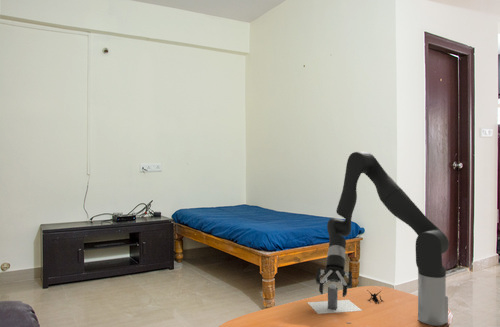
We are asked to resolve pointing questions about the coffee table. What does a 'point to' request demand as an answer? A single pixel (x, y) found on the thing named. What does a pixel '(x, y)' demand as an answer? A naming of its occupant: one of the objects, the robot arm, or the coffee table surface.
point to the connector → (332, 296)
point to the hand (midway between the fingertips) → (332, 294)
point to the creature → (374, 297)
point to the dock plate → (342, 307)
